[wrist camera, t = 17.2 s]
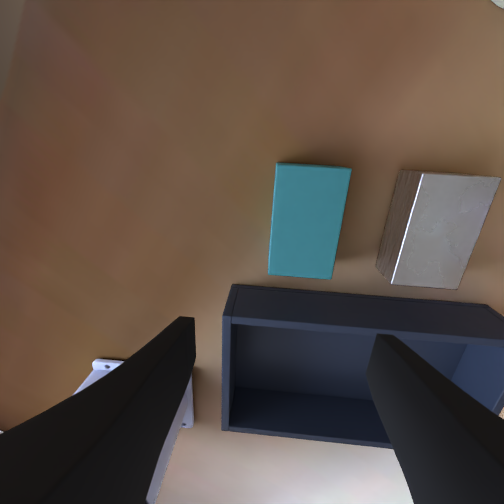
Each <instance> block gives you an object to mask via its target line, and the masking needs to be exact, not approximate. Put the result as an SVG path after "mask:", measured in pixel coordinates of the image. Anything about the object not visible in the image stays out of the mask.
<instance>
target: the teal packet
mask: <svg viewBox="0 0 504 504" xmlns="http://www.w3.org/2000/svg"><path fill="white" fill-rule="evenodd" d="M351 171H352V169H351V168H346V167H342V166H331V165H313V164H295V163H278V162H277V163H276V171H275V183H274V196H273V208H272V220H271V233H270V245H269V257H268V275H279V276H292V277H304V278H317V279H330V280H331V279H332V273H333V268H334V262H335V257H336V252H337V246H338V241H339V236H340V230H341V225H342V219H343V214H344V209H345V203H346V198H347V193H348V187H349V182H350V176H351Z"/></svg>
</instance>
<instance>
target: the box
mask: <svg viewBox="0 0 504 504" xmlns="http://www.w3.org/2000/svg"><path fill="white" fill-rule="evenodd" d="M377 333H378V334H390V335H394V336H395V337H397V338H398V339H399V340H401V341H402V342H403V343H405V344H406V345H407V346H408V347H410V348H411V349H412V350H413V351H414V352H416V353H417V354H418V355H419V356H421V357H422V358H423V359H424V360H425V361H427V362H428V363H429V364H430V365H432V366H433V367H434V368H435V369H437V370H438V371H439V372H440V373H442V374H443V375H444V376H445V377H447V378H448V379H449V380H450V381H452V382H453V383H454V384H456V385H457V386H458V387H459V388H461V389H462V390H463V391H465V392H466V393H467V394H469V395H470V396H471V397H473V398H474V399H476V400H477V401H478V402H480V403H481V404H482V405H484V406H485V407H486V408H488V409H489V410H491V411H492V412H493V413H495V414H496V415H499V414H500V412H501V410H502V409H503V407H504V317H503V316H502V315H501V314H499V313H498V312H496V311H495V310H494V309H492V308H491V307H489V306H488V305H486V304H473V303H461V302H448V301H436V300H423V299H411V298H398V297H385V296H373V295H360V294H348V293H335V292H323V291H310V290H298V289H285V288H272V287H260V286H247V285H235V284H232V286H231V289H230V292H229V296H228V299H227V302H226V306H225V309H224V312H223V316H222V426H221V430H222V431H232V432H241V433H251V434H260V435H269V436H278V437H288V438H297V439H306V440H315V441H324V442H334V443H343V444H352V445H361V446H371V447H380V448H389V449H393V447H392V445H391V442H390V440H389V437H388V435H387V433H386V430H385V428H384V426H383V423H382V421H381V418H380V416H379V413H378V411H377V409H376V406H375V404H374V401H373V398H372V395H371V391H370V388H369V384H368V380H367V377H366V370H367V367H368V363H369V360H370V356H371V353H372V349H373V346H374V342H375V338H376V335H377Z"/></svg>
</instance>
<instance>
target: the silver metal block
mask: <svg viewBox="0 0 504 504" xmlns="http://www.w3.org/2000/svg"><path fill="white" fill-rule="evenodd" d="M500 181H501V178H500V177H492V176H483V175H474V174H464V173H447V172H430V171H412V170H400V171H399V175H398V179H397V183H396V187H395V191H394V195H393V199H392V203H391V207H390V210H389V214H388V218H387V222H386V226H385V230H384V234H383V238H382V242H381V246H380V250H379V254H378V258H377V262H376V266H375V267H376V268H377V269H378V271H379V272H380V273H381V274H382V275H383V276H384V277H385V278H386V279H387V281H388V282H389V283H390V284H391V285H403V286H415V287H428V288H440V289H453V290H457V289H458V286H459V284H460V281H461V279H462V276H463V274H464V271H465V269H466V266H467V264H468V261H469V259H470V256H471V254H472V251H473V249H474V246H475V244H476V241H477V239H478V236H479V234H480V231H481V229H482V226H483V224H484V221H485V219H486V216H487V214H488V211H489V209H490V206H491V204H492V201H493V199H494V196H495V194H496V191H497V188H498V186H499V183H500Z"/></svg>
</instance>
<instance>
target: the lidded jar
mask: <svg viewBox="0 0 504 504" xmlns="http://www.w3.org/2000/svg"><path fill="white" fill-rule="evenodd" d="M491 1H492V2H494V3H495V4H496V5H497V6H499V7H501V8H503V9H504V0H491Z"/></svg>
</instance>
